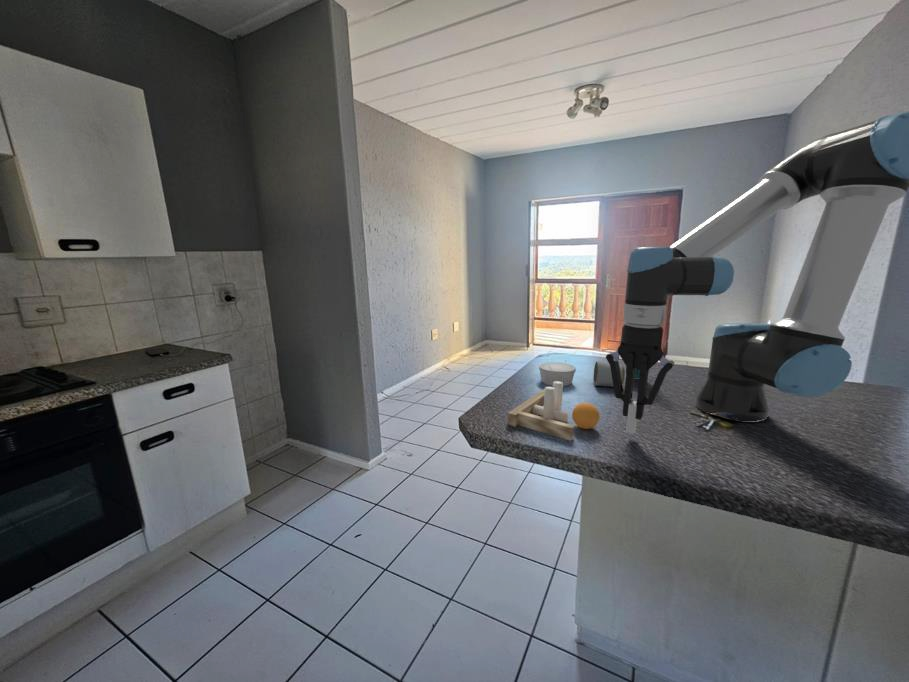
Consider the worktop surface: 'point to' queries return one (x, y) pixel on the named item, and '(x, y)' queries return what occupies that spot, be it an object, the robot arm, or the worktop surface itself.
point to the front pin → (557, 414)
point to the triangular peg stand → (539, 419)
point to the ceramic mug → (605, 374)
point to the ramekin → (557, 373)
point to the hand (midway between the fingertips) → (630, 430)
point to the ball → (585, 415)
